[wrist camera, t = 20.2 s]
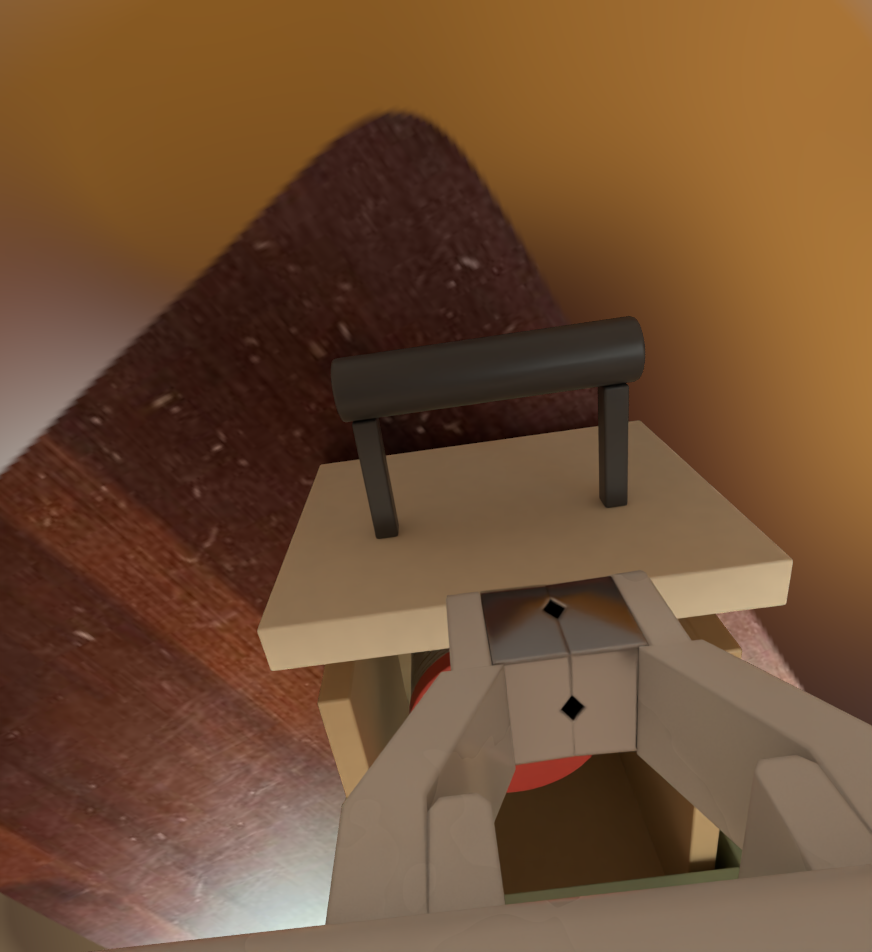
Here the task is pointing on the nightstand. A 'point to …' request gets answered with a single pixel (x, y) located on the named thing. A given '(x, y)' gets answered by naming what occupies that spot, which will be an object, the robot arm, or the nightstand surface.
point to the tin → (525, 775)
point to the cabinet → (724, 870)
